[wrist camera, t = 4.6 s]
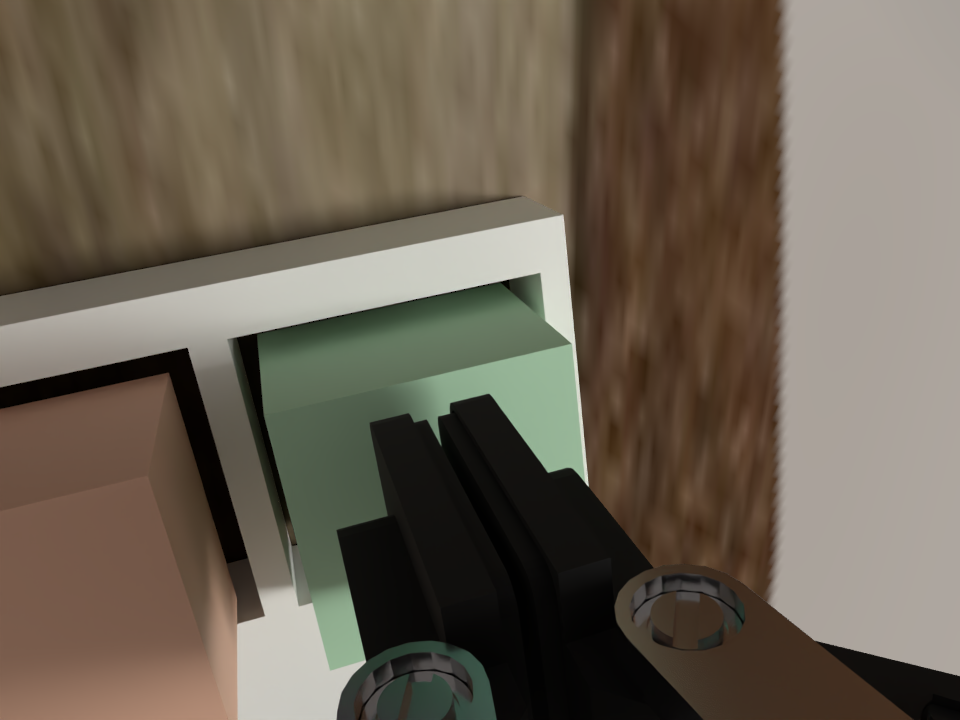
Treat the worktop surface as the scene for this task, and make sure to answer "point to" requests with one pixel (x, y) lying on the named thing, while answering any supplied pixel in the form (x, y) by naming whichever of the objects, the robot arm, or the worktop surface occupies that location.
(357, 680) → the robot arm
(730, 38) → the worktop surface
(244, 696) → the key console
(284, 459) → the sage key
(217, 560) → the terracotta key
